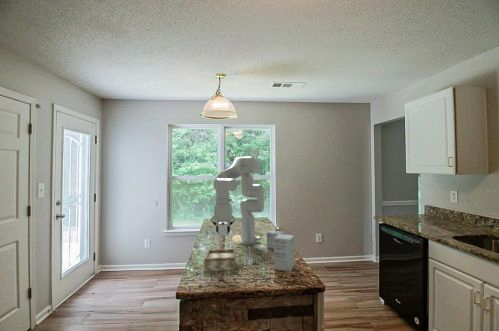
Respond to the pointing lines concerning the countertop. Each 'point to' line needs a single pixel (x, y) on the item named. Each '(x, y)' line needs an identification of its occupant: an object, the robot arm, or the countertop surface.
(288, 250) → the supplement box
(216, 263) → the tray
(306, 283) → the countertop surface
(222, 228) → the block
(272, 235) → the light bulb box
